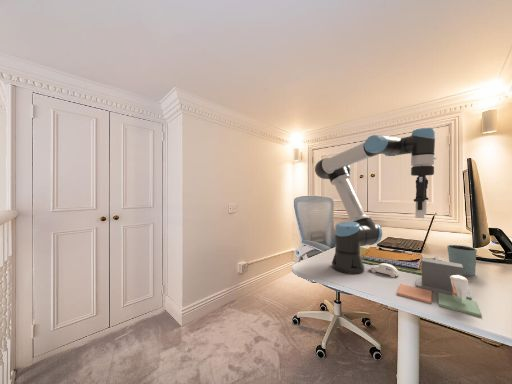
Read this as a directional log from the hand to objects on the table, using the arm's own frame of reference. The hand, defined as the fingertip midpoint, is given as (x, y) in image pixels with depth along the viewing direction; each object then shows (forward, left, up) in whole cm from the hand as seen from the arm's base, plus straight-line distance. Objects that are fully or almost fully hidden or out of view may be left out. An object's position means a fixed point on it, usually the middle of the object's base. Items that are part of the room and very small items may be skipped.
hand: (421, 216), depth 87 cm
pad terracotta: (-2, -12, -29) cm, 31 cm away
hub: (+6, -1, -29) cm, 30 cm away
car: (-14, +4, -30) cm, 33 cm away
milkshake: (+10, -11, -28) cm, 32 cm away
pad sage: (+10, -12, -29) cm, 33 cm away
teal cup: (+14, +29, -29) cm, 44 cm away
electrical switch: (+5, +12, -29) cm, 32 cm away
